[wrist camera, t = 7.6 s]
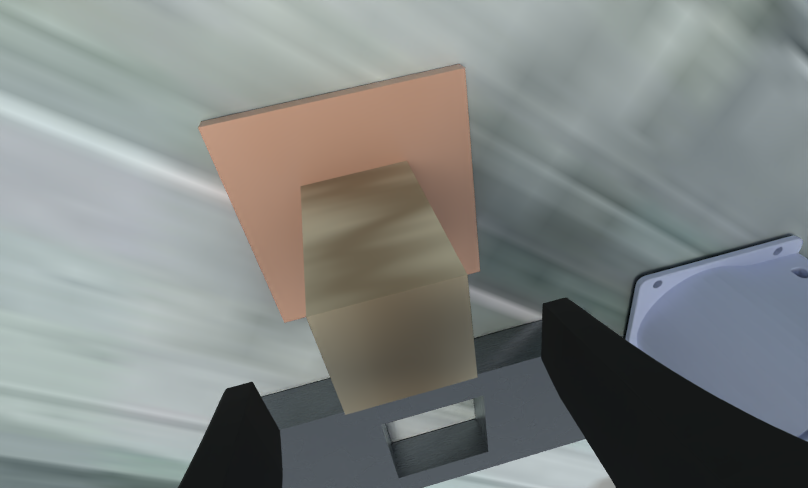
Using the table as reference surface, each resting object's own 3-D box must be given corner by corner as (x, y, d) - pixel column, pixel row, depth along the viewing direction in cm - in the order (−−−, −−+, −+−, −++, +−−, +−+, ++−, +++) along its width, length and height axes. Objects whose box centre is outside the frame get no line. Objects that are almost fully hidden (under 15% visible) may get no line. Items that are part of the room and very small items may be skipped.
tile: (459, 63, 16) (464, 67, 15) (475, 263, 21) (480, 271, 20) (201, 121, 15) (197, 127, 14) (284, 313, 20) (284, 322, 20)
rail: (578, 310, 24) (601, 339, 22) (569, 408, 29) (587, 438, 28) (247, 401, 23) (243, 440, 21) (298, 487, 28) (299, 524, 26)
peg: (406, 160, 17) (467, 274, 11) (421, 246, 19) (477, 377, 13) (300, 186, 16) (305, 317, 11) (328, 270, 19) (345, 414, 13)
